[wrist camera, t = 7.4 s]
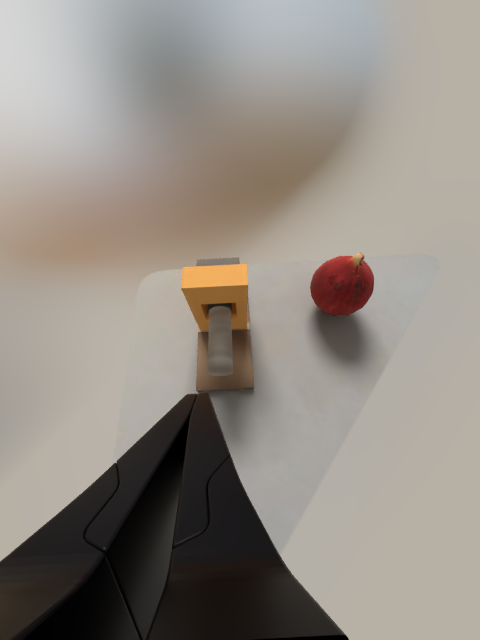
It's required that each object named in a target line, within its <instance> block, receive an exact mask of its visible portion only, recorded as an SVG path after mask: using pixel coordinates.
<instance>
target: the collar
mask: <svg viewBox="0 0 480 640" xmlns="http://www.w3.org/2000/svg"><path fill="white" fill-rule="evenodd" d="M181 289H182V291H183V293H184V296H185V298H186V300H187V302H188V304H189V307H190V309H191V311H192V313H193V315H194V318H195V320H196V322H197V324H198V327H199V329H200V331H207V330H209V313H208V304H219V303H232V313H231V325H232V329H245V328H247V309H248V277H247V265H246V264H234V265H215V266H195V267H183V273H182V285H181Z"/></svg>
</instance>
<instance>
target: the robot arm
mask: <svg viewBox="0 0 480 640" xmlns="http://www.w3.org/2000/svg"><path fill="white" fill-rule="evenodd" d="M0 640H349V639H348V637H347V636H346V635H345V634H344V633H343V631H342V630H341V629H340V628H339V627H338V626H337V625H336V624H335V622H334V621H333V620H332V619H331V618H330V617H329V616H328V615H327V613H326V612H325V611H324V610H323V609H322V608H321V607H320V605H319V604H318V603H317V602H316V601H315V600H314V599H313V597H312V596H311V595H310V594H309V593H308V592H307V591H306V590H305V589H304V587H303V586H302V585H301V584H300V583H299V582H298V580H297V579H296V578H295V577H294V576H293V575H292V573H291V572H290V570H289V569H288V568H287V566H286V565H285V563H284V561H283V560H282V558H281V557H280V555H279V553H278V552H277V550H276V548H275V546H274V544H273V543H272V541H271V539H270V537H269V535H268V533H267V531H266V530H265V528H264V526H263V524H262V522H261V520H260V518H259V516H258V515H257V513H256V511H255V509H254V507H253V505H252V503H251V501H250V500H249V498H248V496H247V493H246V491H245V489H244V487H243V485H242V483H241V481H240V479H239V476H238V474H237V471H236V469H235V466H234V463H233V460H232V458H231V455H230V452H229V449H228V447H227V444H226V441H225V438H224V435H223V433H222V430H221V427H220V424H219V421H218V419H217V416H216V413H215V410H214V407H213V404H212V402H211V399H210V396H209V394H208V393H201V394H198V395H197V394H187V395H186V396H184V397H183V398H182V399H181V400H180V401H179V402H178V403H177V404H176V405H175V406H174V407H173V408H172V409H171V410H170V411H169V412H168V413H167V414H166V415H165V416H164V417H162V418H161V419H160V420H159V421H158V422H157V423H156V424H155V425H154V426H153V427H152V428H151V429H150V430H149V431H148V432H147V433H146V434H145V435H144V436H143V437H141V438H140V439H139V440H138V441H137V442H136V443H135V444H134V445H133V446H132V447H131V448H130V449H129V450H128V451H127V452H126V453H125V454H124V455H123V456H122V457H121V458H119V459H118V460H117V464H116V463H114V464H113V465H112V466H111V467H110V468H109V469H108V470H107V471H106V472H105V473H104V474H103V475H102V476H100V477H99V478H98V479H97V480H96V481H95V482H94V483H93V484H92V485H91V486H89V487H88V488H87V489H86V490H85V491H84V492H83V493H82V494H80V495H79V496H78V497H77V498H76V499H75V500H73V501H72V502H71V503H70V504H69V505H68V506H66V507H65V508H64V509H63V510H62V511H61V512H59V513H58V514H57V515H56V516H55V517H54V518H52V519H51V520H50V521H49V522H47V523H46V524H45V525H44V526H43V527H41V528H40V529H39V530H38V531H37V532H35V533H34V534H33V535H32V536H31V537H29V538H28V539H27V540H26V541H25V542H23V543H22V544H21V545H20V546H19V547H17V548H16V549H15V550H14V551H13V552H11V553H10V554H9V555H8V556H7V557H5V558H4V559H3V560H2V561H1V562H0Z"/></svg>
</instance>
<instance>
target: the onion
mask: <svg viewBox="0 0 480 640" xmlns="http://www.w3.org/2000/svg"><path fill="white" fill-rule="evenodd" d="M363 259H364V255H363V254H361V253H358V254H357V255H354V256H339V257H336V258H334V259H331V260H329V261H326V262H325V263H324V264H322V265H321V266H320V267H319V268H318V269H317V270H316V272H315V273H314V275H313V278H312V281H311V287H310V289H311V296H312V298H313V300H314V302H315V304H316V305H317V306H318V307H319V308H320V309H321V310H323V311H324V312H326V313H329V314H331V315H349V314H351V313H353V312H355V311H357V310H359V309H361V308H363V306H364V305H365V304H366V303H367V301H368V300H369V298H370V297H371V295H372V292H373V287H374V276H373V273H372V271H371V269H370V267H369V266H368V265H367V263H366V262H365V261H364V260H363Z"/></svg>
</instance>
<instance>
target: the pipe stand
mask: <svg viewBox="0 0 480 640" xmlns="http://www.w3.org/2000/svg"><path fill="white" fill-rule="evenodd" d="M234 264H239V258H223V259H203V260H197V266H215V265H234ZM208 313H209V330H207V331H200V329H199V327H198V355H197V382H196V391H211V390H230V389H248V388H254V380H253V367H252V353H251V340H250V326H249V313H248V309H247V328H245V329H232V325H231V313H232V303H219V304H208Z"/></svg>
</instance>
